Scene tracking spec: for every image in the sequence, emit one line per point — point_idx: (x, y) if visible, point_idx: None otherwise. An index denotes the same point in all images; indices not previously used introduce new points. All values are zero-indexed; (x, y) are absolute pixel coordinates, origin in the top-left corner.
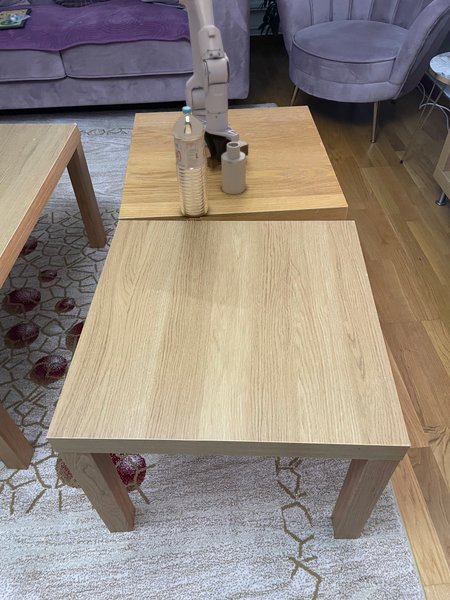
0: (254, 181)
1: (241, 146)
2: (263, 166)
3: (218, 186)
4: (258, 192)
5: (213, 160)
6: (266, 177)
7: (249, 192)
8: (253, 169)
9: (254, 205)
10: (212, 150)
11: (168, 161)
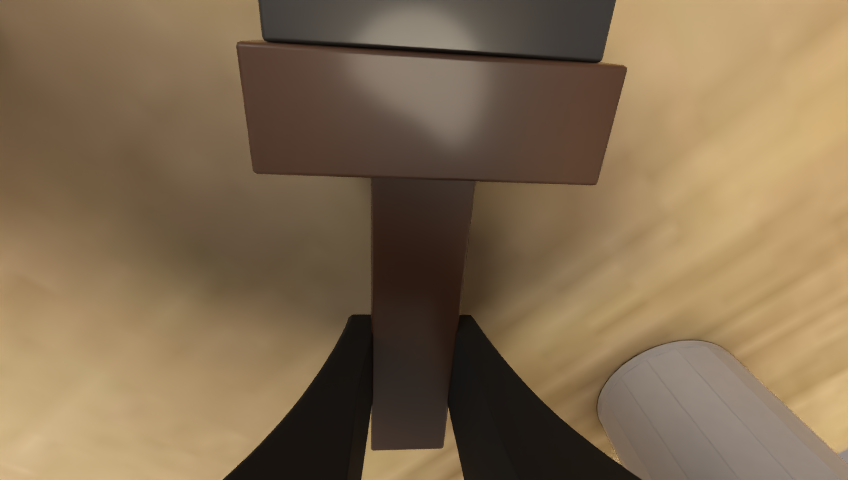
0: (761, 264)
1: (601, 163)
2: (754, 7)
3: (574, 428)
4: (829, 335)
5: (444, 432)
6: (838, 160)
7: (773, 366)
8: (682, 129)
9: (839, 421)
10: (364, 437)
11: (85, 451)
